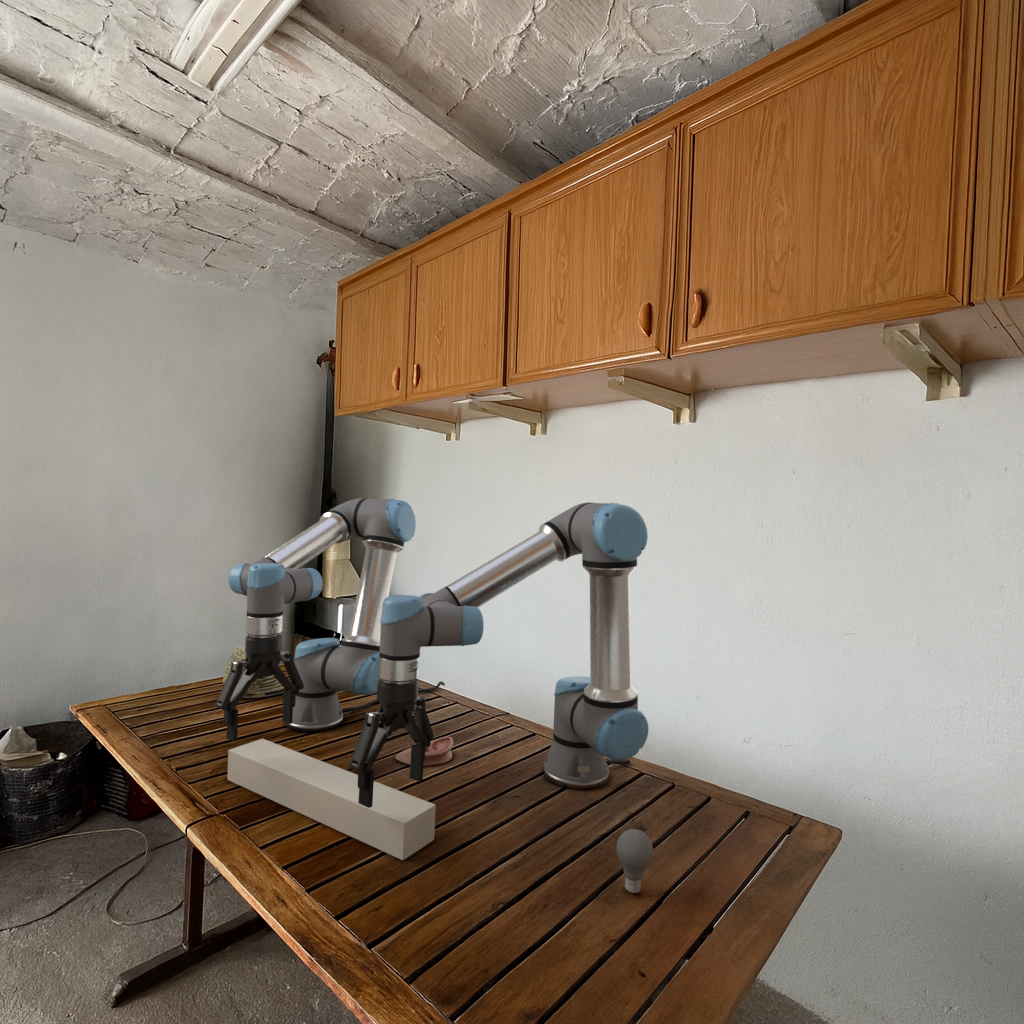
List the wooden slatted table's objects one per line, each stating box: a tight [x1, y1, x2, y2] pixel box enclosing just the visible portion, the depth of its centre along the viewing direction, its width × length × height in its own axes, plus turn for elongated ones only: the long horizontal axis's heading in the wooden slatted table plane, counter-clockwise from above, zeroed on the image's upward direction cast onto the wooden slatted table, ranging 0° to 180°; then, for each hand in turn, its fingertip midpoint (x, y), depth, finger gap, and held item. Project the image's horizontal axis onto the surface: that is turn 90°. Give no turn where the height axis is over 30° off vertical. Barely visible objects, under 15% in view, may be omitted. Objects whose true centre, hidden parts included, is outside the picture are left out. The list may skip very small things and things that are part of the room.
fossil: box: [222, 646, 286, 699], centre depth 198 cm, size 9×18×15 cm, turn 132°
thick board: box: [226, 738, 437, 861], centre depth 129 cm, size 52×9×7 cm, turn 57°
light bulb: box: [615, 828, 654, 894], centre depth 106 cm, size 6×6×10 cm
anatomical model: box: [394, 736, 454, 767], centre depth 156 cm, size 13×4×12 cm
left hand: (260, 730), depth 139 cm, fingers open, 13 cm apart
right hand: (391, 791), depth 119 cm, fingers open, 13 cm apart
